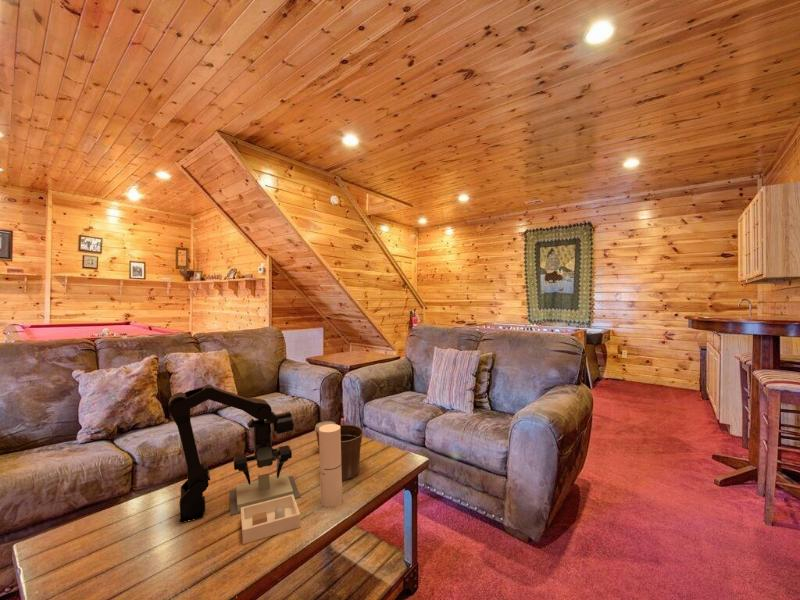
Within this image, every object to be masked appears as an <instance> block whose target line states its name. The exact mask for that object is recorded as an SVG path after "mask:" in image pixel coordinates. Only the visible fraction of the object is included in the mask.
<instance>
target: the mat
mask: <svg viewBox="0 0 800 600" xmlns="http://www.w3.org/2000/svg"><path fill="white" fill-rule="evenodd" d="M288 478H289V481H290V483H291V486H292V489H293V495H294V498H295V500H296V499H301V495H300V492H299V488H298V486H297V484H296V481H295V478H294V476H293V475H288ZM229 511H230V512H229V513H230V515H229V516H230V517H231V516H235V515H239V514H241V510H240V511H237V495H236V488H234V489H230V490H229Z"/></svg>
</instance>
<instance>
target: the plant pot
mask: <svg viewBox="0 0 800 600" xmlns="http://www.w3.org/2000/svg"><path fill="white" fill-rule="evenodd" d="M338 425H339V426H340V429H341V469H342V482H343V481H344V482H345V481H349V479H353V478H355V477H357V476H358V475H359V472H360V460H361V459H360V457H361V445H362V442H363V435H364V430H363V428H362V427H360V426H358V425H354V424H338Z"/></svg>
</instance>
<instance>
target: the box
mask: <svg viewBox="0 0 800 600" xmlns="http://www.w3.org/2000/svg"><path fill="white" fill-rule="evenodd" d="M240 523H241V534H242V535H241V537H242V545H245V544H248V543H251V542H255V541H259V540H262V539H265V538H268V537H273V536H275V535H279V534H282V533H285V532H289V531H292V530H296V529H298V528H301V526H302V525H301V513H300V510H299V507H298V504H297V502H296V499H295V498H294V495H293V494H292V495H288V496H284V497H280V498H277V499H273V500H269V501H265V502H261V503H257V504H253V505H249V506H245V507H241V513H240Z"/></svg>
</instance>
